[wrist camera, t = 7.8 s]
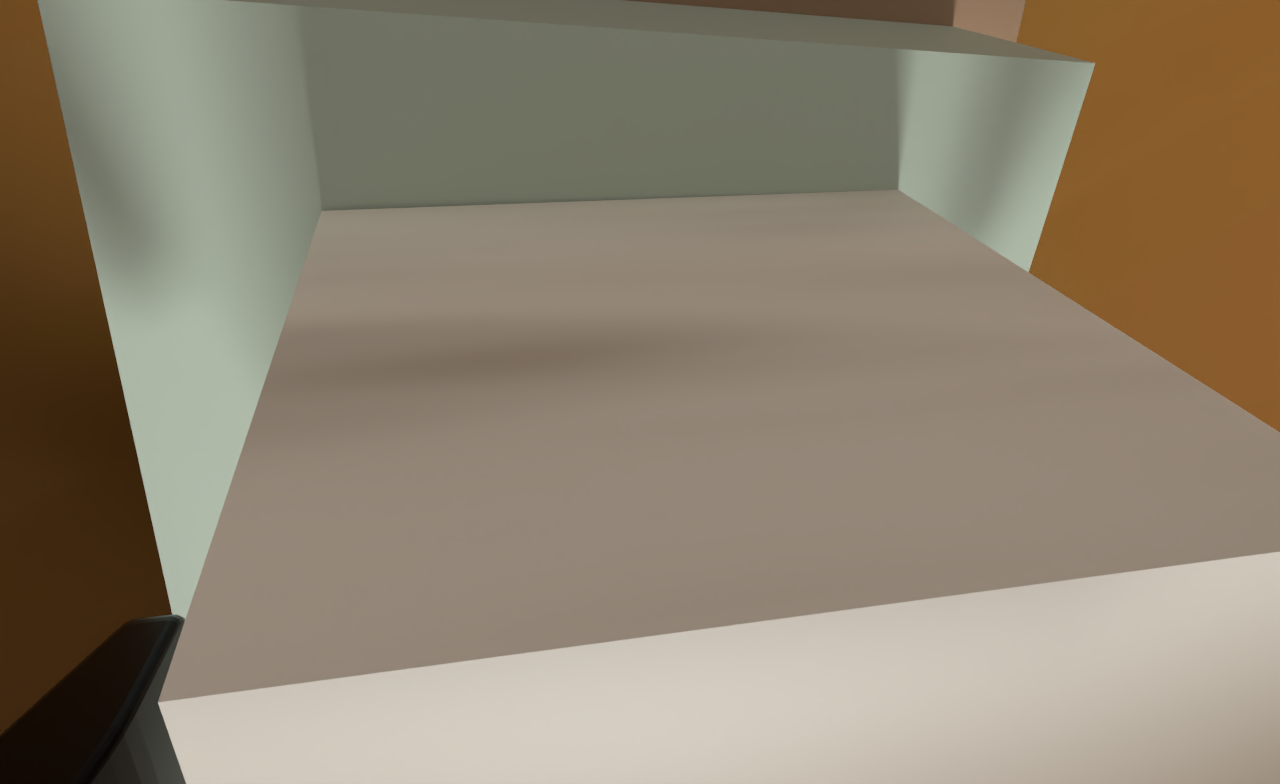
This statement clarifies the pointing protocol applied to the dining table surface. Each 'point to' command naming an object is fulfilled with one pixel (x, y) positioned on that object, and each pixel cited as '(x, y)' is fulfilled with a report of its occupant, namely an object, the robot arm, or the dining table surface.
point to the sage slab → (479, 157)
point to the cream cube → (725, 516)
